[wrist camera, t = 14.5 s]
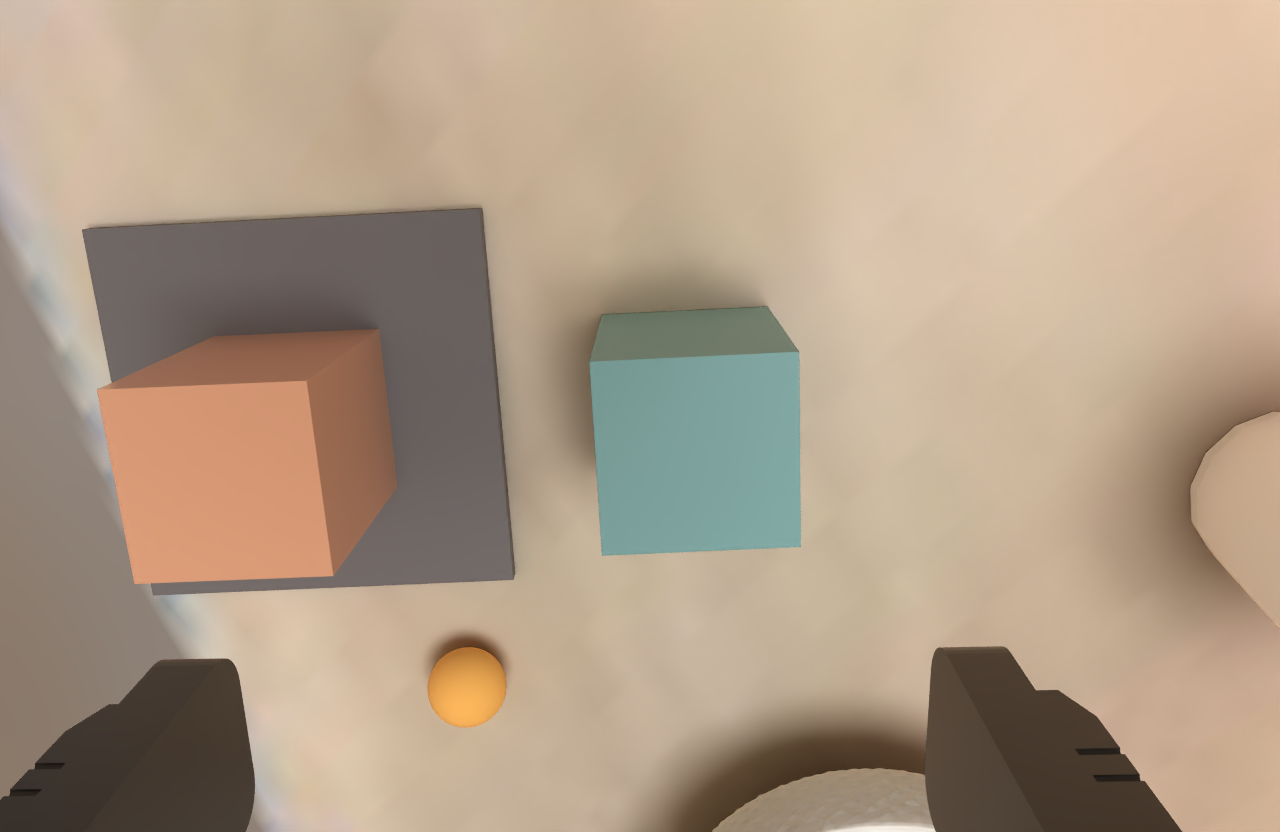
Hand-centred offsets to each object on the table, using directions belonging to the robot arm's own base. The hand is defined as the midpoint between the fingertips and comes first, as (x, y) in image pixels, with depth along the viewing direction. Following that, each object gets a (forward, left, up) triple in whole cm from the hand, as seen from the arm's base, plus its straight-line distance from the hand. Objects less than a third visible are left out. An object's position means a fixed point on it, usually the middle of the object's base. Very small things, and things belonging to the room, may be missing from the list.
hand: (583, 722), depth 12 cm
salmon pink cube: (+3, -12, -26) cm, 28 cm away
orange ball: (+14, -7, -26) cm, 30 cm away
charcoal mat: (+3, -12, -26) cm, 29 cm away
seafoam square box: (+3, +2, -26) cm, 26 cm away
